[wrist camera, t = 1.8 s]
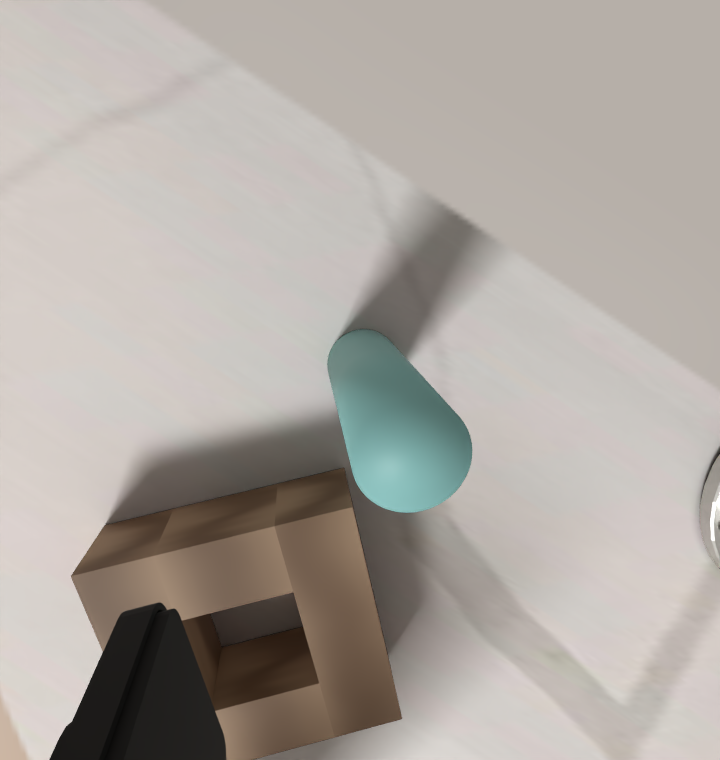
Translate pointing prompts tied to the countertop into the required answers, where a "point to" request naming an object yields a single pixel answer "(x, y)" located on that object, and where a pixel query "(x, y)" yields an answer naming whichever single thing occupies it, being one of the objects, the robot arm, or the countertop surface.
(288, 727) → the socket block
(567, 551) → the countertop surface
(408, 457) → the dowel
